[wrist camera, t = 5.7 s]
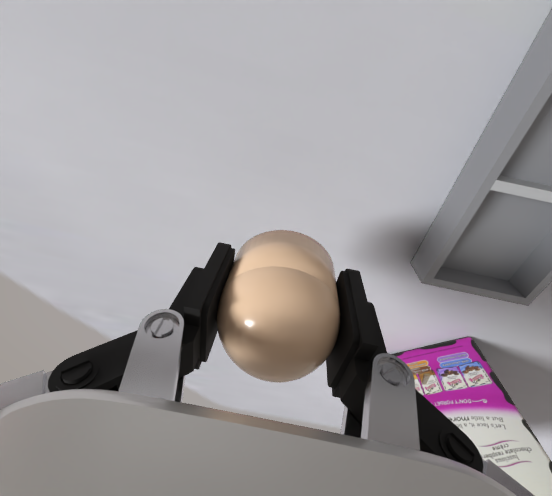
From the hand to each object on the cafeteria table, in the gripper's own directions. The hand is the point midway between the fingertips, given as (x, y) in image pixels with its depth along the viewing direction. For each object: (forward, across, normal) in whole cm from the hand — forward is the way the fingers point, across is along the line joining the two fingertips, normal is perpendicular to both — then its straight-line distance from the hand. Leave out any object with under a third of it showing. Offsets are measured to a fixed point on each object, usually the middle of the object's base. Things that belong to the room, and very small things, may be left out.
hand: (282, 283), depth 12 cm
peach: (+1, 0, 0) cm, 1 cm away
